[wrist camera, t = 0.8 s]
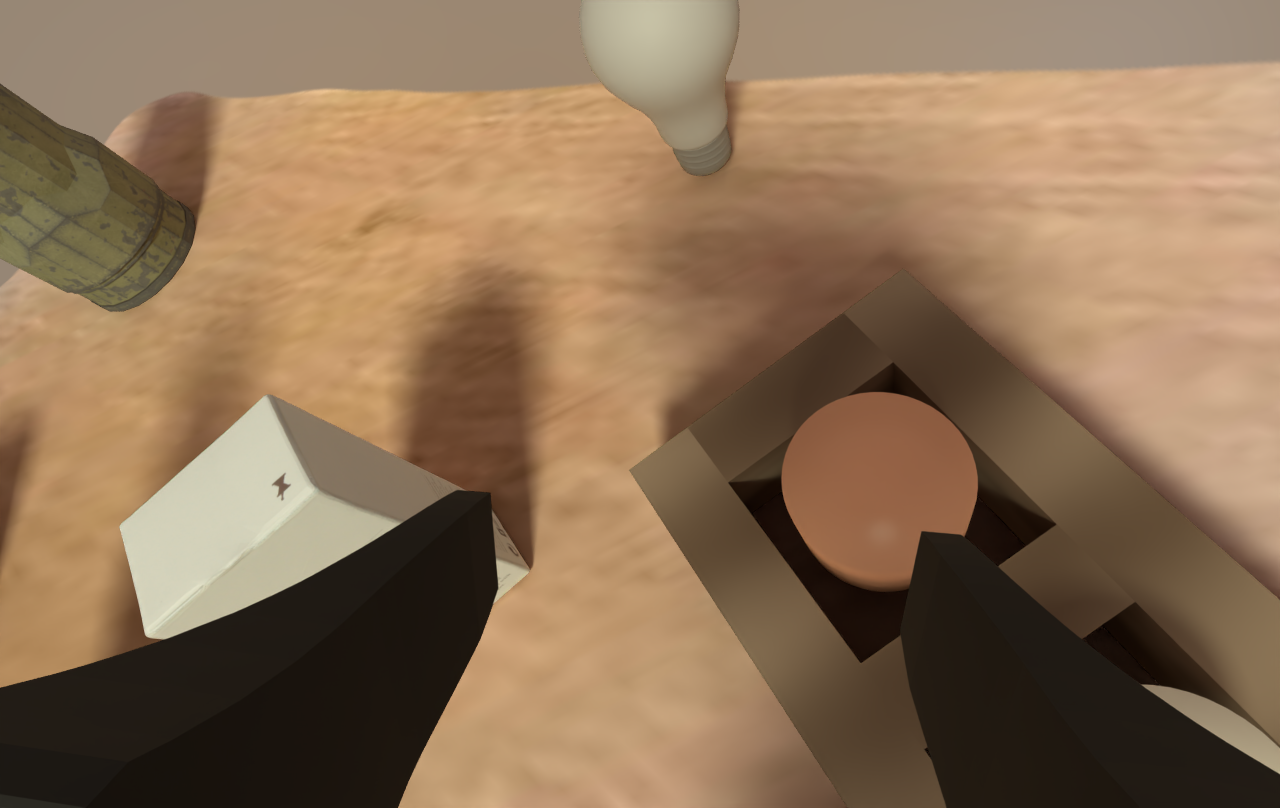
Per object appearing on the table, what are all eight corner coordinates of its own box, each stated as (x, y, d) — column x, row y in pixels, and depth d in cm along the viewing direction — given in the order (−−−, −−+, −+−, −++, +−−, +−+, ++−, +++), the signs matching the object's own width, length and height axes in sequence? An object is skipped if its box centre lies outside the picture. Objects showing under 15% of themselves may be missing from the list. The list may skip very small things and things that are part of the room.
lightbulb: (727, 234, 31) (650, 28, 22) (626, 196, 34) (520, -1, 25) (797, 133, 32) (753, -107, 23) (693, 104, 35) (616, -120, 26)
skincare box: (487, 497, 30) (270, 384, 20) (535, 572, 28) (320, 489, 18) (382, 588, 30) (110, 523, 20) (422, 671, 28) (141, 645, 18)
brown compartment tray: (1503, 889, 16) (1660, 934, 13) (1098, 1158, 17) (1146, 1270, 14) (903, 325, 27) (903, 268, 24) (663, 500, 27) (629, 470, 24)
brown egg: (1005, 526, 20) (1023, 493, 17) (866, 625, 21) (860, 610, 18) (890, 406, 23) (888, 359, 20) (767, 495, 23) (746, 462, 20)
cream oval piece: (1313, 846, 16) (1410, 877, 13) (1129, 970, 16) (1181, 1029, 13) (1125, 650, 18) (1168, 638, 15) (968, 759, 18) (980, 768, 15)
